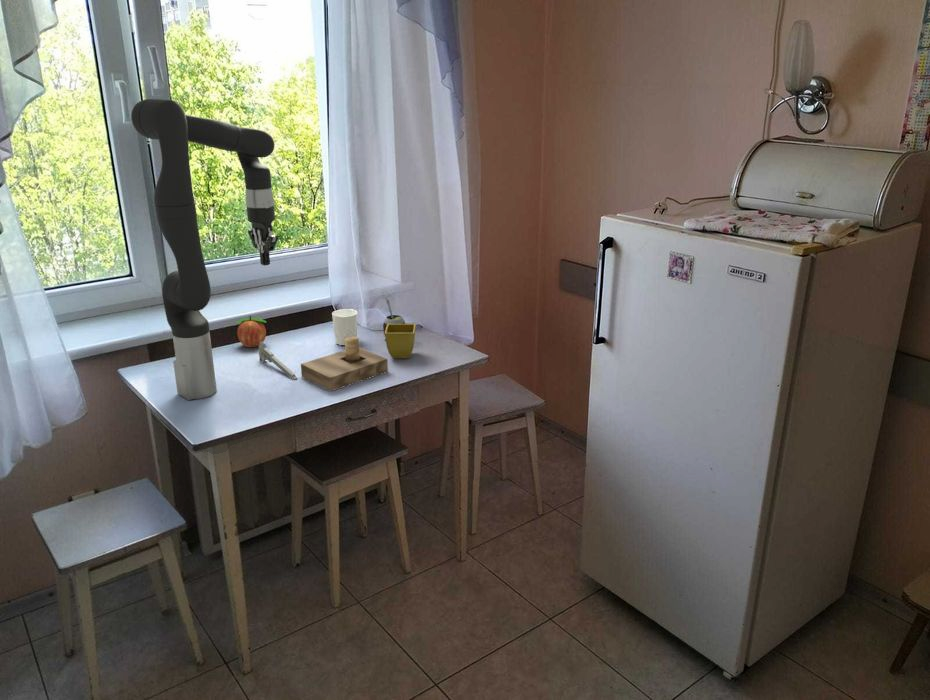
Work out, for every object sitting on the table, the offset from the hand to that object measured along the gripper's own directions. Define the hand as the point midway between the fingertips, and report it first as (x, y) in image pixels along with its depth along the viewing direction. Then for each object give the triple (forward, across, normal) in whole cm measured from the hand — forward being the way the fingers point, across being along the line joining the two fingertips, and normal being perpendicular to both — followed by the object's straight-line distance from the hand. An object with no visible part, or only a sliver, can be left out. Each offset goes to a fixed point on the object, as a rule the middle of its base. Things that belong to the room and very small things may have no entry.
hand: (265, 264), depth 217 cm
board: (+29, +25, +8) cm, 39 cm away
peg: (+29, +25, +11) cm, 40 cm away
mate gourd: (+29, +13, +36) cm, 48 cm away
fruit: (+29, -14, +1) cm, 32 cm away
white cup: (+29, +4, +24) cm, 38 cm away
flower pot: (+29, +25, +29) cm, 48 cm away
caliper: (+30, +8, -4) cm, 31 cm away
